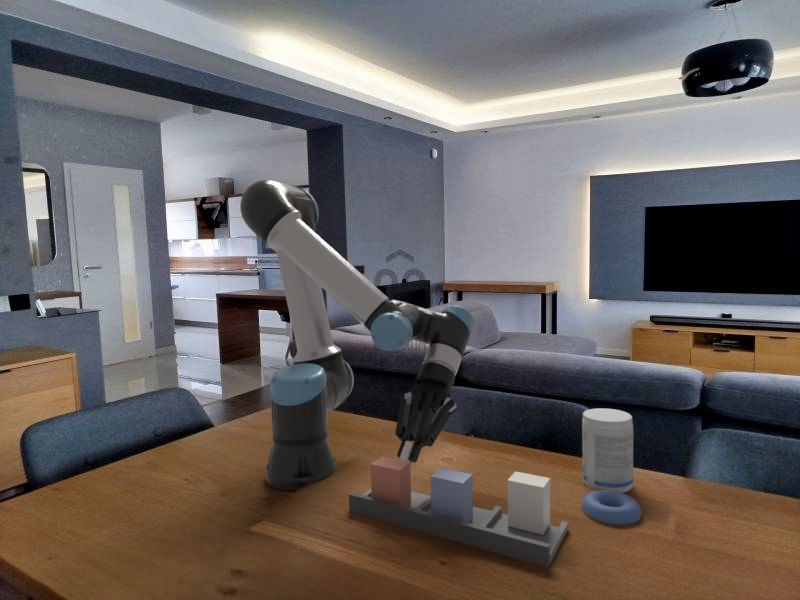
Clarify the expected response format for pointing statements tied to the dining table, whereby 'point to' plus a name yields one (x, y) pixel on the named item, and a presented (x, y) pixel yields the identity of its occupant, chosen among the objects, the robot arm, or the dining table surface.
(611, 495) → the doughnut
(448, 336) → the robot arm
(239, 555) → the dining table surface
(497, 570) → the dining table surface
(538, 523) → the white rectangular block
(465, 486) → the blue rectangular block
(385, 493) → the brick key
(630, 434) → the supplement tub
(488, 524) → the grey divided tray
